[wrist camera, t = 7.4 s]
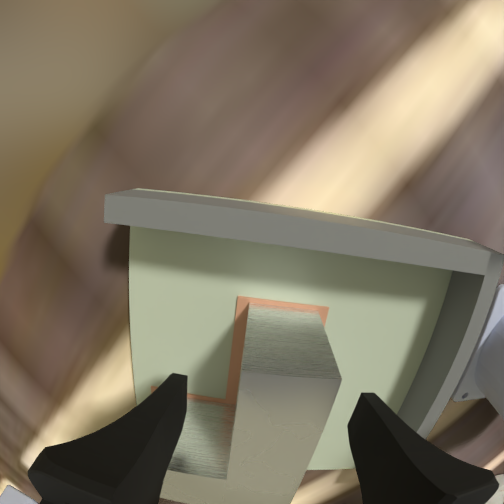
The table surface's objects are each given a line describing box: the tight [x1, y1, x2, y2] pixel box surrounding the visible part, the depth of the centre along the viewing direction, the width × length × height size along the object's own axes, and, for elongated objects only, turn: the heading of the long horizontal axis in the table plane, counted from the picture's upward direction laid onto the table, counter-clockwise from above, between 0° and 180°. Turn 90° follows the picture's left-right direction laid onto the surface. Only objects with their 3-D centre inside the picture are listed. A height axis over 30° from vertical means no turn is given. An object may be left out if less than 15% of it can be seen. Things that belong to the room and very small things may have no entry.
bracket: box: [160, 302, 342, 504], centre depth 12 cm, size 9×7×5 cm
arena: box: [104, 188, 504, 470], centre depth 14 cm, size 16×16×3 cm
